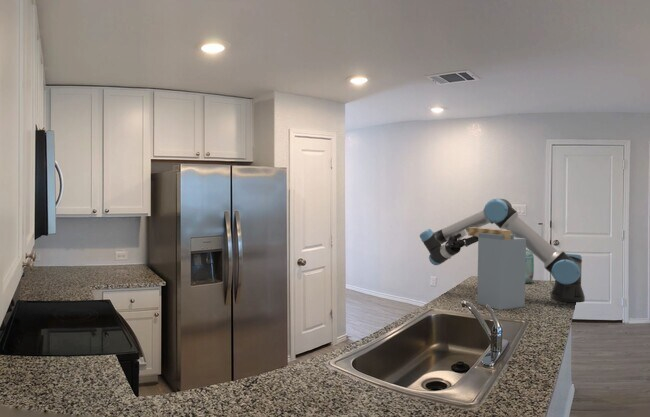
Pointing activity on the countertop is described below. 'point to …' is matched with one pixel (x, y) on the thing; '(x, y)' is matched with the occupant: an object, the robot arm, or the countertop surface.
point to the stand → (501, 271)
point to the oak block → (489, 232)
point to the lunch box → (529, 266)
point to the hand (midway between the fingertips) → (476, 231)
